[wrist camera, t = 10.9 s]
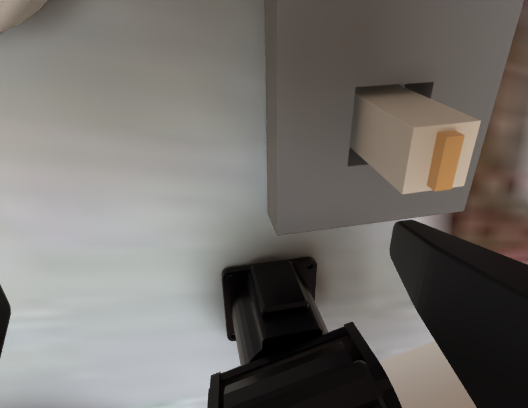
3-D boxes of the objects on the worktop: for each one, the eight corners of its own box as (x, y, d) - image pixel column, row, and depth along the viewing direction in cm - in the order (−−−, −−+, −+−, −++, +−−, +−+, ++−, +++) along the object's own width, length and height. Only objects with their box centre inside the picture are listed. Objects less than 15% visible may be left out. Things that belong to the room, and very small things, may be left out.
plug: (388, 134, 23) (472, 192, 17) (341, 139, 23) (409, 201, 16) (395, 83, 22) (491, 125, 15) (345, 87, 21) (421, 132, 15)
